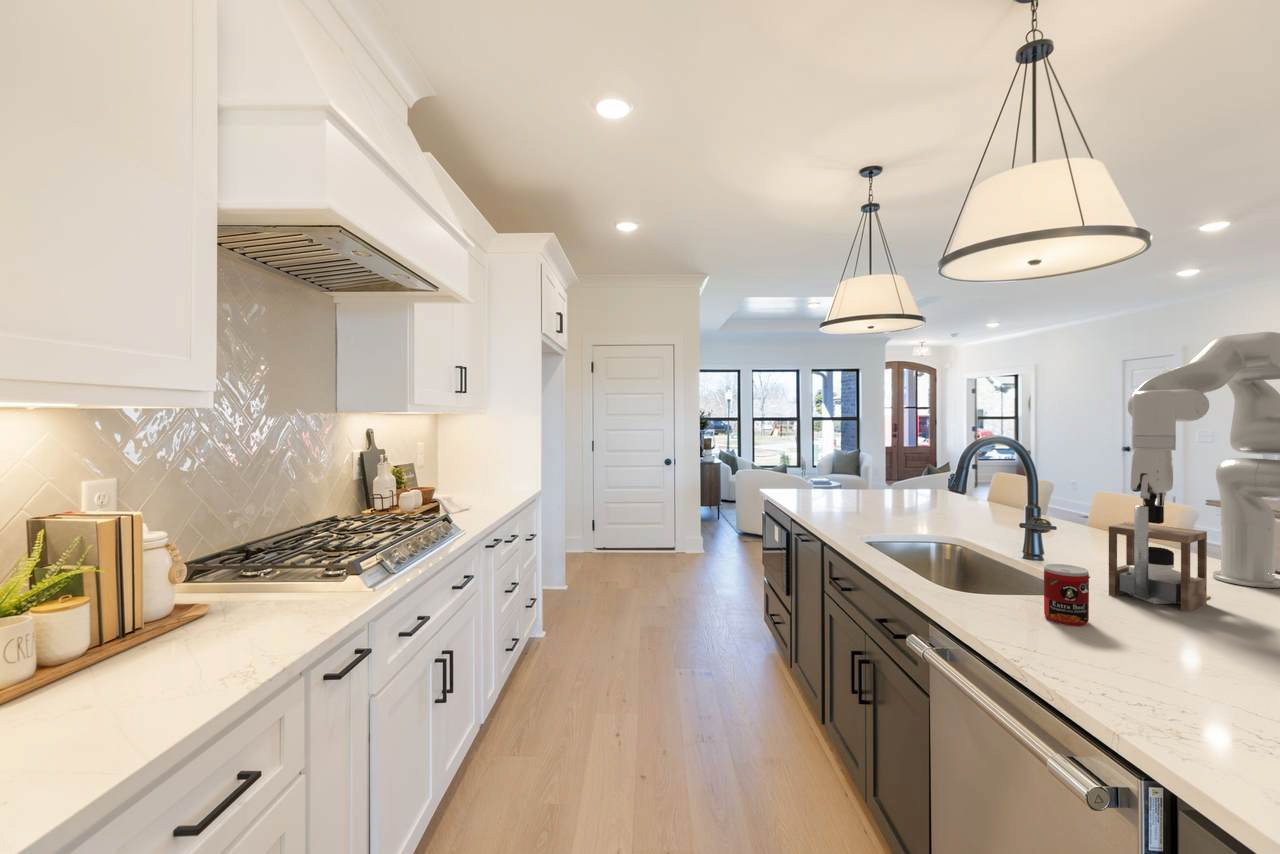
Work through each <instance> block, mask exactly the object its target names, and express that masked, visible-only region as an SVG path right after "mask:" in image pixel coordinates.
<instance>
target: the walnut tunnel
mask: <svg viewBox="0 0 1280 854" xmlns="http://www.w3.org/2000/svg"><path fill="white" fill-rule="evenodd" d="M1207 532H1208V531H1205V530H1198V529H1189V528H1181V527H1174V526H1173V527H1172V526H1167V525H1166V526H1163V525H1155V524H1150V523H1148V539H1153V540H1159V541H1160V540H1161V541H1169V542H1175V543H1180V572H1181V604H1180V611H1181V610H1182V611H1181V612H1186V611H1187V613H1190V612H1191V610H1192V611H1193V609H1194V610H1196V609H1198V608H1200V606H1201V607H1203V606H1205V605H1207V600H1208V599H1207V595H1208V592H1207V590H1208V589H1207V587H1208V586H1207V584H1208V583H1207V581H1208V580H1207V576H1208V574H1207V570H1208V569H1207V566H1208V565H1207V563H1208V562H1207V559H1208V557H1207V552H1208V550H1207V549H1208V548H1207V547H1208V545H1207V542H1208V541H1207V540H1208V538H1207V536H1208V533H1207ZM1118 535H1125V536H1126V537H1125V538H1126V541H1125V544H1126V547H1125V548H1126V550H1125V553H1126V555H1125V558H1126V559H1125V560H1126V564H1124V565H1121V566H1118ZM1194 542H1197V577H1193V578H1194V579H1191V580H1190V577H1191V543H1194ZM1129 566H1134V522H1131V521H1127V522H1122V523H1118V524H1114V525H1109V526H1108V596H1111V595H1112V597H1116V596H1119V594H1120V595H1122V593H1123V594H1126V592H1123V591H1120V574H1121V573H1124V572H1128V571H1129ZM1204 604H1205V605H1204ZM1202 605H1203V606H1202Z"/></svg>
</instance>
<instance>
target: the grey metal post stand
mask: <svg viewBox="0 0 1280 854" xmlns="http://www.w3.org/2000/svg"><path fill="white" fill-rule="evenodd" d="M1133 512H1134V517H1133V519H1134V522H1133V523H1134V576H1132V575H1131V573H1130V572H1129V571H1128V572H1124V573H1121V574H1120V591H1123V592H1125V593H1128V594H1129V593H1133V594H1134V595H1135V597H1134V598H1136V599H1139V598H1140V600H1142V599H1145V600H1147V599H1150V598H1157V599H1162V600H1167V601H1171V602H1178V601H1181V580H1180V581H1177V582H1174V583H1170V582H1164V581H1159V580H1152V579H1148V547H1149V538H1148V524H1149V523H1148V506H1143V504H1142V505H1138V504H1137V505H1134V511H1133ZM1194 578H1195V577H1191V576H1190V580H1191V579H1194ZM1145 600H1144V601H1145Z"/></svg>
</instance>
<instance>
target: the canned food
mask: <svg viewBox="0 0 1280 854" xmlns="http://www.w3.org/2000/svg"><path fill="white" fill-rule="evenodd" d="M1089 575H1090V574H1089V570H1088V569H1086V568H1083V567H1081V566H1077V565H1072V564H1064V563H1063V564H1061V563H1050V564H1045V565H1044V566H1043V615H1044V617H1045V619H1047V620H1048V621H1050V622H1052V623H1055V624H1058V625H1062V624H1063V625H1064V626H1068V625H1069V626H1070V627H1083V626H1087V625H1088V623H1089V621H1090V620H1089V619H1090V616H1089V615H1090V611H1089V610H1090V603H1089V602H1090V576H1089Z"/></svg>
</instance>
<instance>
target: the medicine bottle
mask: <svg viewBox="0 0 1280 854" xmlns="http://www.w3.org/2000/svg"><path fill="white" fill-rule="evenodd" d="M1174 568H1175V553H1174V551H1172V550H1170V549H1168V548H1165V547H1159V546H1158V547H1157V546H1148V579H1152V580H1159V581H1164V582H1170V583H1174V582H1177V581H1180V580H1181V570H1180V571H1179V570H1176V569H1174ZM1129 572H1130V573H1131V575H1132V576H1134V566H1129ZM1128 594H1129V596H1132V597H1134V598H1135V595H1134V594H1133V593H1128ZM1138 599H1140V598H1138ZM1140 600H1143V601H1145V602H1148V603H1151V604H1154V605H1171V603H1172V605H1179V604H1180V605H1181V601H1178V602H1171V601H1167V600H1162V599H1157V598H1150V599H1147V600H1145V599H1140ZM1173 603H1174V604H1173Z"/></svg>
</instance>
